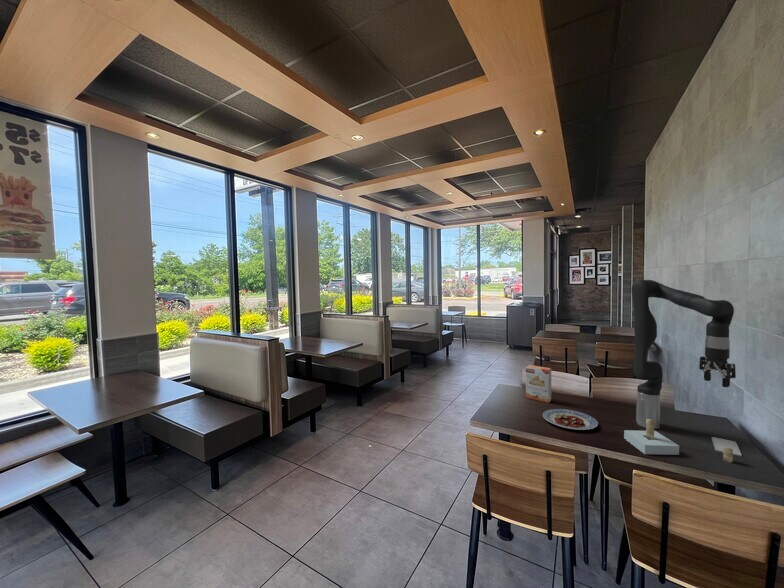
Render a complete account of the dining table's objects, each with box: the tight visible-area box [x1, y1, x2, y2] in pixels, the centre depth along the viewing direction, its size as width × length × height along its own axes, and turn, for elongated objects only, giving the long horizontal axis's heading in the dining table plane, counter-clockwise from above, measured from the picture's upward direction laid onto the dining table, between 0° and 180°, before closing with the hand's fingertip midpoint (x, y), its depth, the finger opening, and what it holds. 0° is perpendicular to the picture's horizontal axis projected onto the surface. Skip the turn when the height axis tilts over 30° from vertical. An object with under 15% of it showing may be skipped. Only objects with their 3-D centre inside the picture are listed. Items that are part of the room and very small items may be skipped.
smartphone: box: [711, 436, 743, 457], centre depth 146 cm, size 8×1×15 cm
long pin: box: [645, 419, 655, 440], centre depth 148 cm, size 3×3×12 cm
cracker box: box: [525, 364, 552, 404], centre depth 207 cm, size 14×6×21 cm, turn 48°
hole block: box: [623, 429, 680, 456], centre depth 148 cm, size 14×14×4 cm
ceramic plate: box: [542, 408, 599, 431], centre depth 174 cm, size 26×26×3 cm
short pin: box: [722, 447, 734, 464], centre depth 135 cm, size 3×3×5 cm
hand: (716, 383), depth 141 cm, fingers open, 8 cm apart
